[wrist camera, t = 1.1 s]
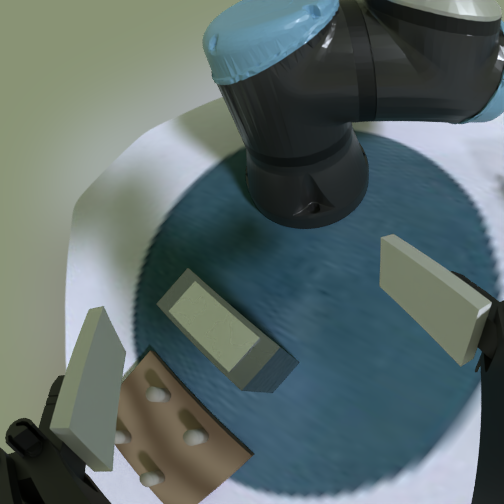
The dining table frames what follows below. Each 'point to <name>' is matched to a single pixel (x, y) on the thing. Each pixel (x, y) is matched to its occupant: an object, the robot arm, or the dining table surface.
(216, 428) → the pin tray
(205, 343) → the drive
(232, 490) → the dining table surface
